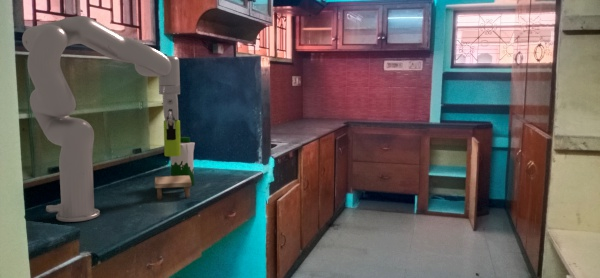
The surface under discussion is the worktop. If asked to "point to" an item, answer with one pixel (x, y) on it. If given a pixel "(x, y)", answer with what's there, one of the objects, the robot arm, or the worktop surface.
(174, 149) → the soap dispenser
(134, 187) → the worktop surface
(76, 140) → the robot arm
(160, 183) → the stool
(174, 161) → the milk carton
